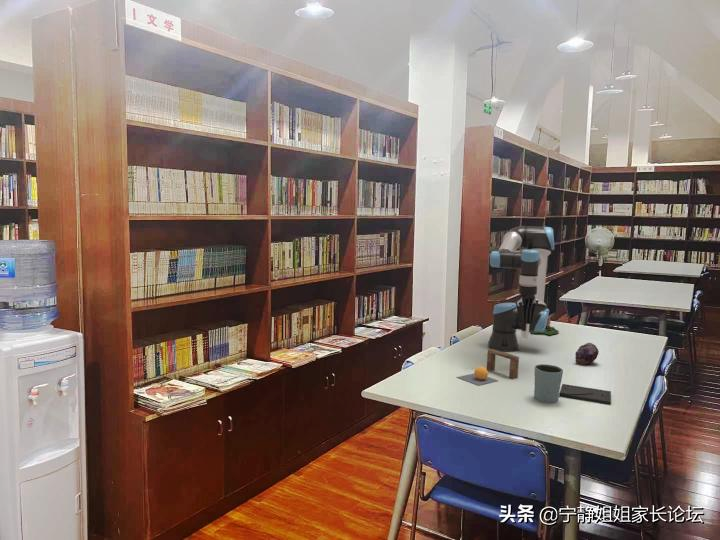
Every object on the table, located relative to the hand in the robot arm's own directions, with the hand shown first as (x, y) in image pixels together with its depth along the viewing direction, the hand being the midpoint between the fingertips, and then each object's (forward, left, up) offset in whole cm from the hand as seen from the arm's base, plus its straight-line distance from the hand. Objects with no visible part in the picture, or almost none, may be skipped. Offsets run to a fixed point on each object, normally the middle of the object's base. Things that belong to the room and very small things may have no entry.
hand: (524, 337), depth 237 cm
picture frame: (+35, -7, -15) cm, 39 cm away
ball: (+1, -28, -12) cm, 31 cm away
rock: (+9, +35, -15) cm, 39 cm away
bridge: (0, -14, -14) cm, 20 cm away
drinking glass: (+30, -24, -15) cm, 41 cm away
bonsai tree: (-44, +67, -15) cm, 81 cm away
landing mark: (0, -29, -14) cm, 32 cm away
